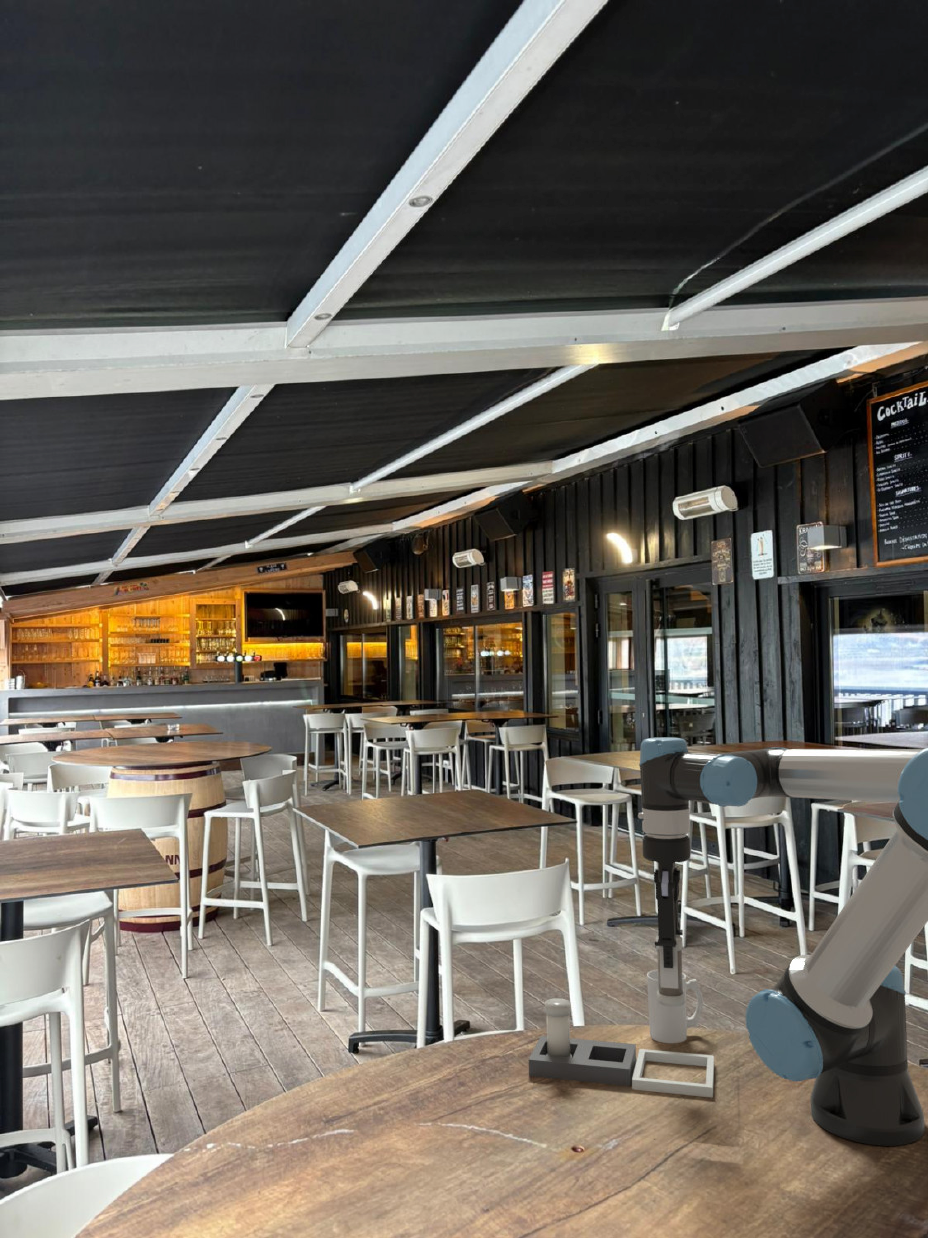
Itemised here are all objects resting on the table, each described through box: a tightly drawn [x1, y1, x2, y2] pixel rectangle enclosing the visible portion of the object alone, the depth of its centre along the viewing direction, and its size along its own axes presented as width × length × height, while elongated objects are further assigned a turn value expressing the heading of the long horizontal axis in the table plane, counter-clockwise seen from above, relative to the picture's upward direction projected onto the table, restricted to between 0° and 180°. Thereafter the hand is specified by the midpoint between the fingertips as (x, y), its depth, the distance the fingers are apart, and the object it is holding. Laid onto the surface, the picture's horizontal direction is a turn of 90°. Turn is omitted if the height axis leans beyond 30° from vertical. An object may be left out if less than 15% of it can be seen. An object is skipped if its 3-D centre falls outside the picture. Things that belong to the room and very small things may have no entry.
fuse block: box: [528, 1035, 637, 1087], centre depth 150 cm, size 16×10×4 cm, turn 74°
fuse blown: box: [655, 935, 685, 1007], centre depth 147 cm, size 4×4×10 cm
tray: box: [631, 1048, 715, 1098], centre depth 146 cm, size 12×12×3 cm
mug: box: [646, 969, 704, 1044], centre depth 163 cm, size 10×7×12 cm, turn 99°
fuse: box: [544, 997, 572, 1058], centre depth 151 cm, size 4×4×10 cm
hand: (670, 982), depth 147 cm, fingers closed on fuse blown, 4 cm apart
